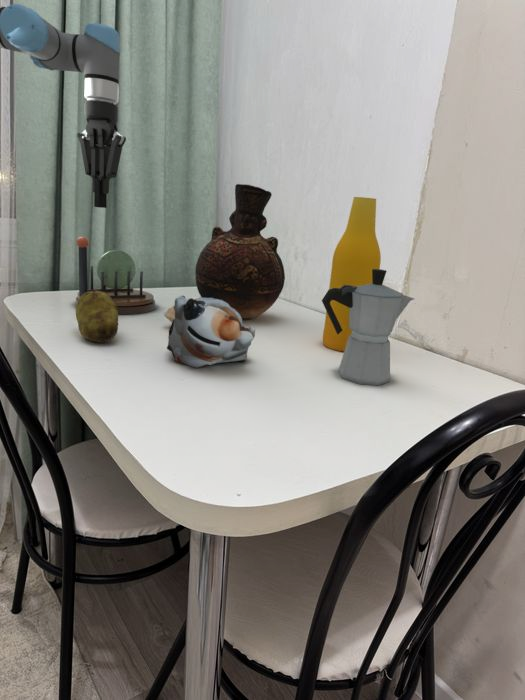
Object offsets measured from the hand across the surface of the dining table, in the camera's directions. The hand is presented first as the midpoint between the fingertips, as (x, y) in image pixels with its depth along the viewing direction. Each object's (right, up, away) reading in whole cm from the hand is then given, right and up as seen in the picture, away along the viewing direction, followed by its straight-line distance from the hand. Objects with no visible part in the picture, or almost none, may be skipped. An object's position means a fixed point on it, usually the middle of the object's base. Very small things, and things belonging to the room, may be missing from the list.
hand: (100, 207), depth 124 cm
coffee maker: (+56, -40, -39) cm, 79 cm away
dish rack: (+5, -23, -5) cm, 24 cm away
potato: (+9, -33, -30) cm, 45 cm away
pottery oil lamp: (+24, -31, -21) cm, 45 cm away
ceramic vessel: (+34, -27, -3) cm, 43 cm away
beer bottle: (+56, -35, -21) cm, 70 cm away
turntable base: (+5, -25, -4) cm, 25 cm away
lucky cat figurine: (+31, -37, -38) cm, 62 cm away
